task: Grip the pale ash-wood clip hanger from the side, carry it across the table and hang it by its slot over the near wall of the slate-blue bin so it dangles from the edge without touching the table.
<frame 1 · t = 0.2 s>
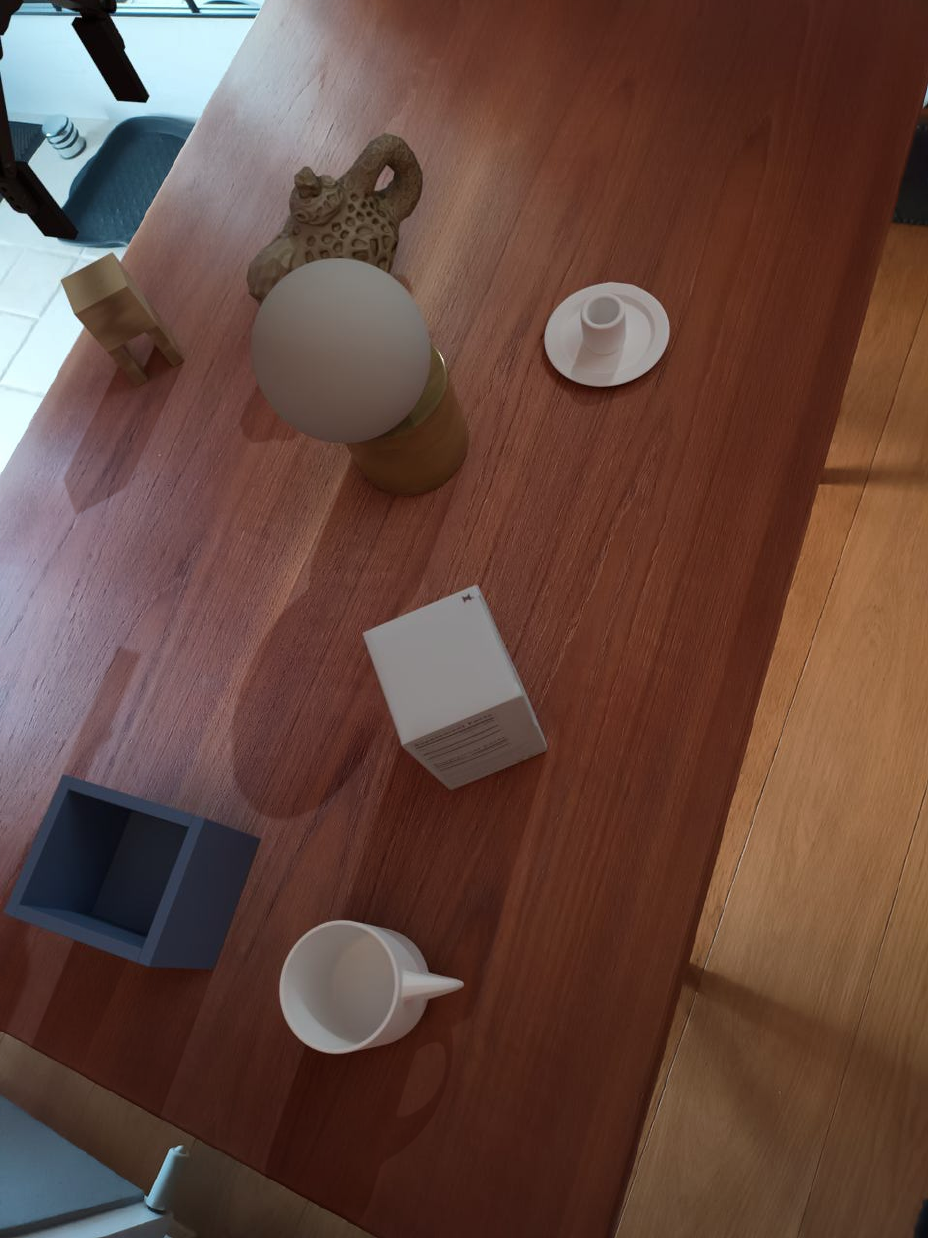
hand: (98, 164, 73), 29 cm above the table, tool pointing down, fingers open, 13 cm apart
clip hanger: (153, 357, 103), on the table
teapot: (356, 282, 102), on the table
supplement box: (480, 723, 82), on the table
lamp: (402, 462, 93), on the table
blue bin: (171, 880, 82), on the table
mug: (401, 985, 75), on the table
candle holder: (606, 339, 93), on the table
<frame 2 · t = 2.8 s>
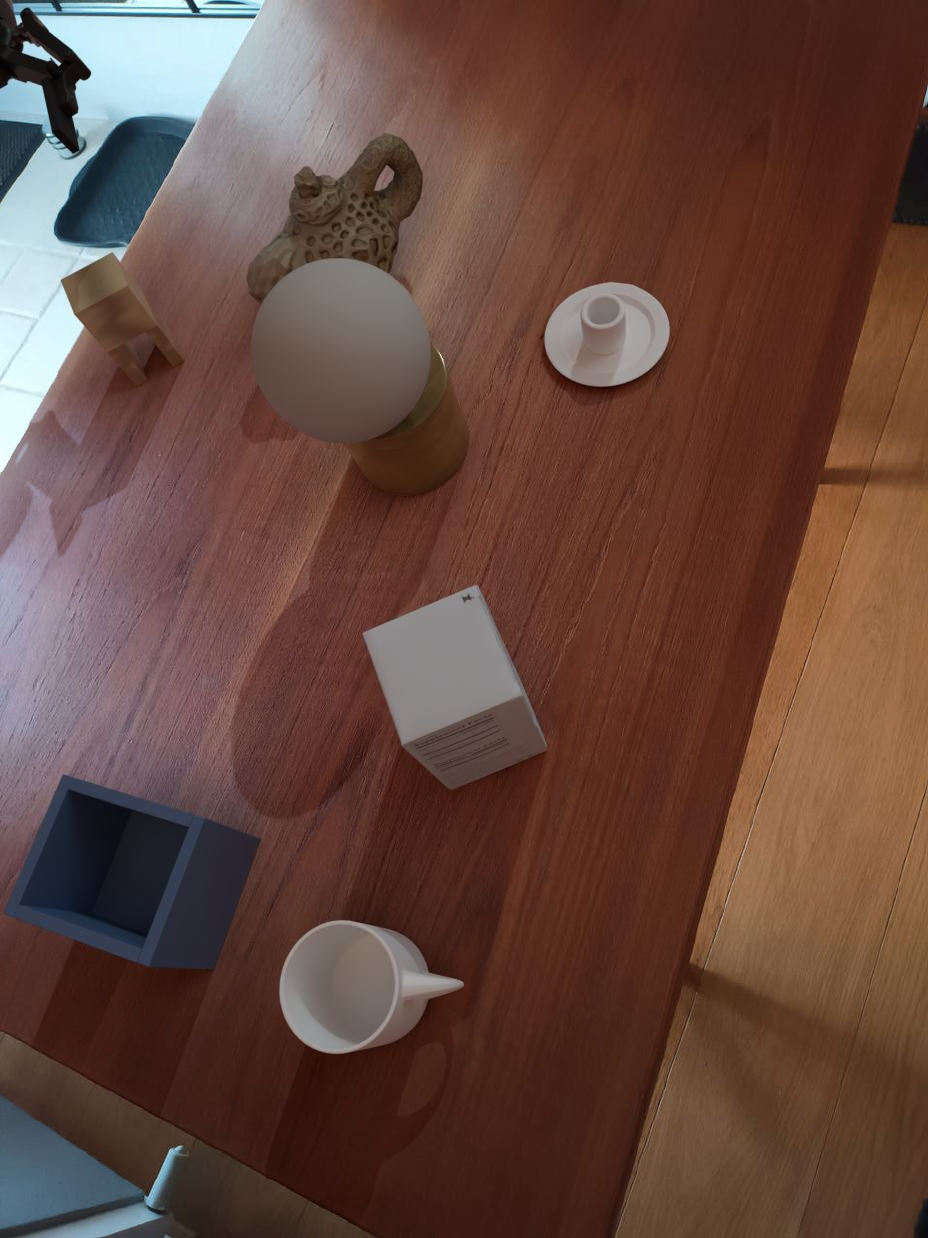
hand: (4, 178, 86), 21 cm above the table, tool horizontal, fingers open, 13 cm apart
nothing on the table moved.
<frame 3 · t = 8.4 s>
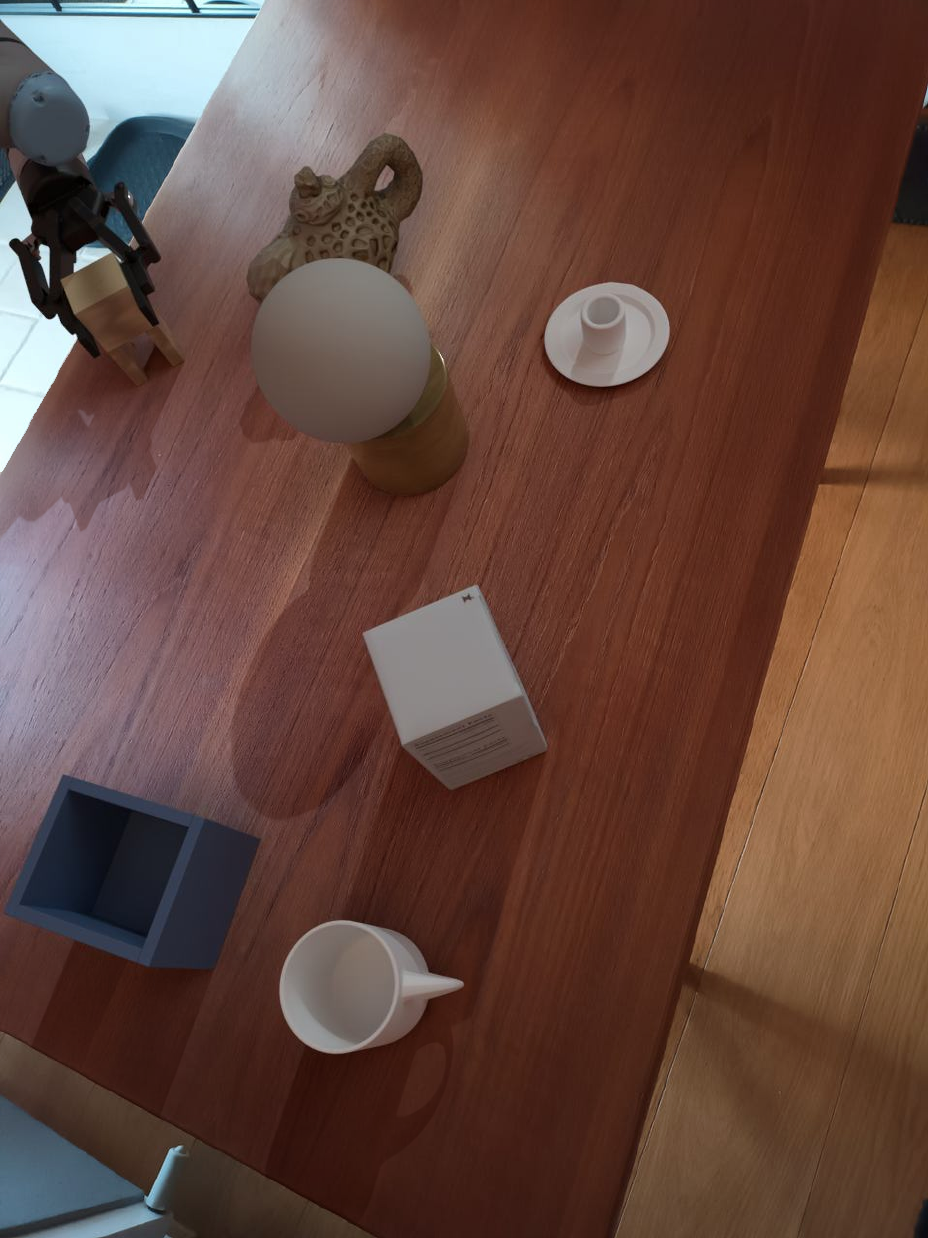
hand: (119, 332, 92), 10 cm above the table, tool horizontal, fingers closed on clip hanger, 6 cm apart
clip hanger: (153, 357, 103), on the table, touching gripper
everything else where it was.
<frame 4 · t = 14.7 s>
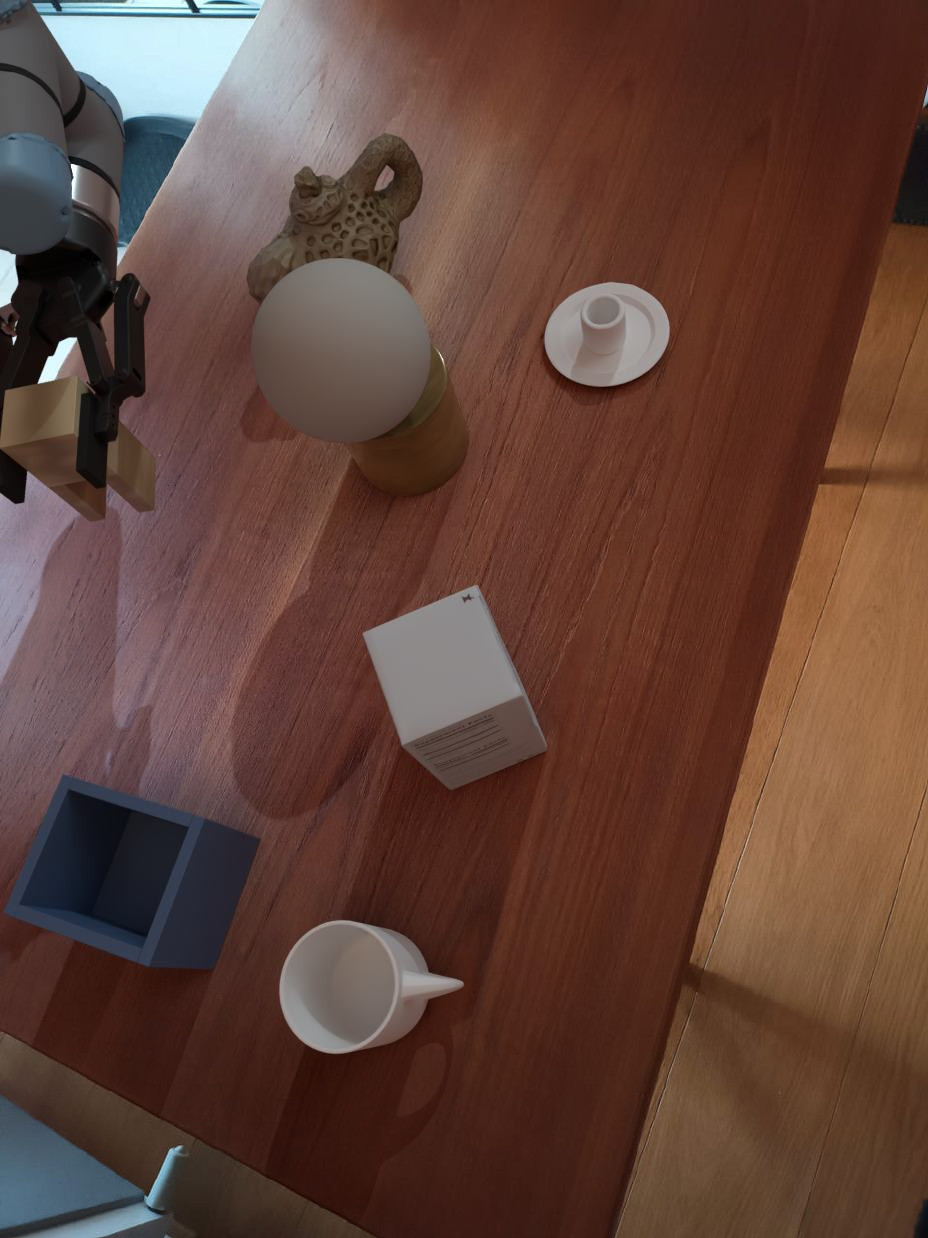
hand: (49, 486, 69), 24 cm above the table, tool horizontal, fingers closed on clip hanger, 6 cm apart
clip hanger: (123, 490, 80), point 14 cm above the table, touching gripper
everything else where it was.
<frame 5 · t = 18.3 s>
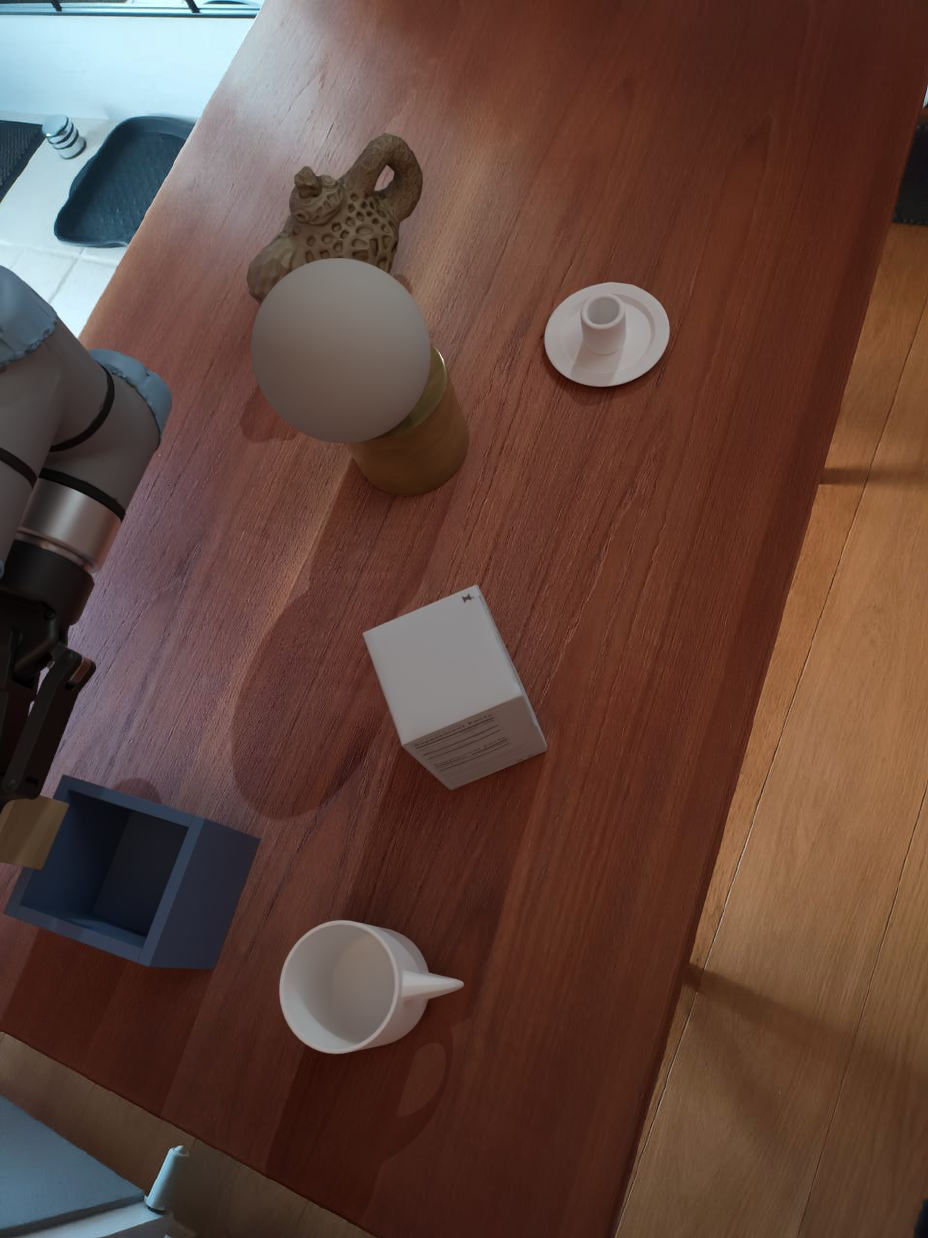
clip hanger: (24, 826, 71), point 13 cm above the table, touching gripper
everything else where it was.
when the fingers open (15 cm above the table, at t = 20.9 s): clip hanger stays where it is, resting on blue bin.
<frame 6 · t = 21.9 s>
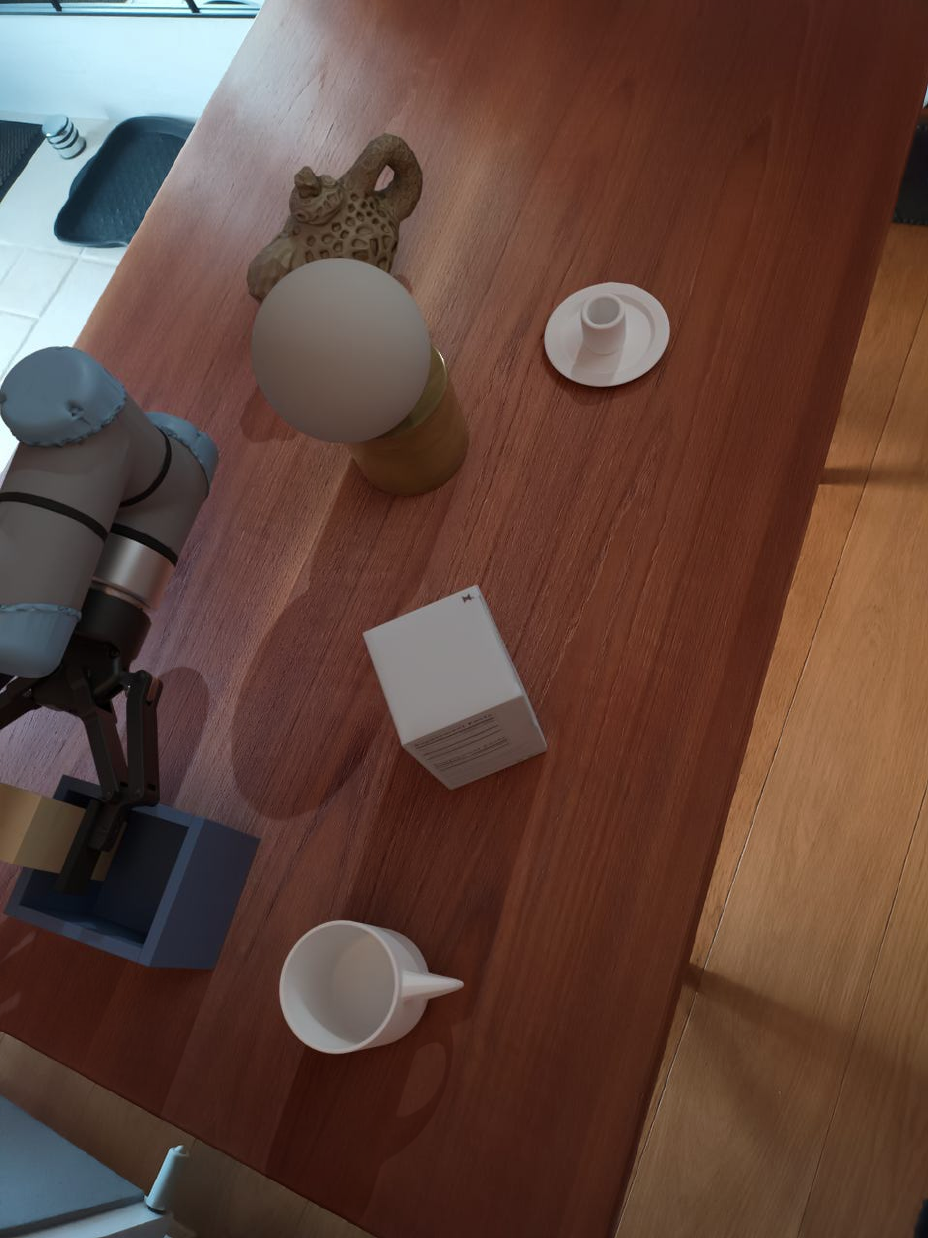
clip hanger: (86, 842, 79), point 5 cm above the table, touching blue bin
everything else where it was.
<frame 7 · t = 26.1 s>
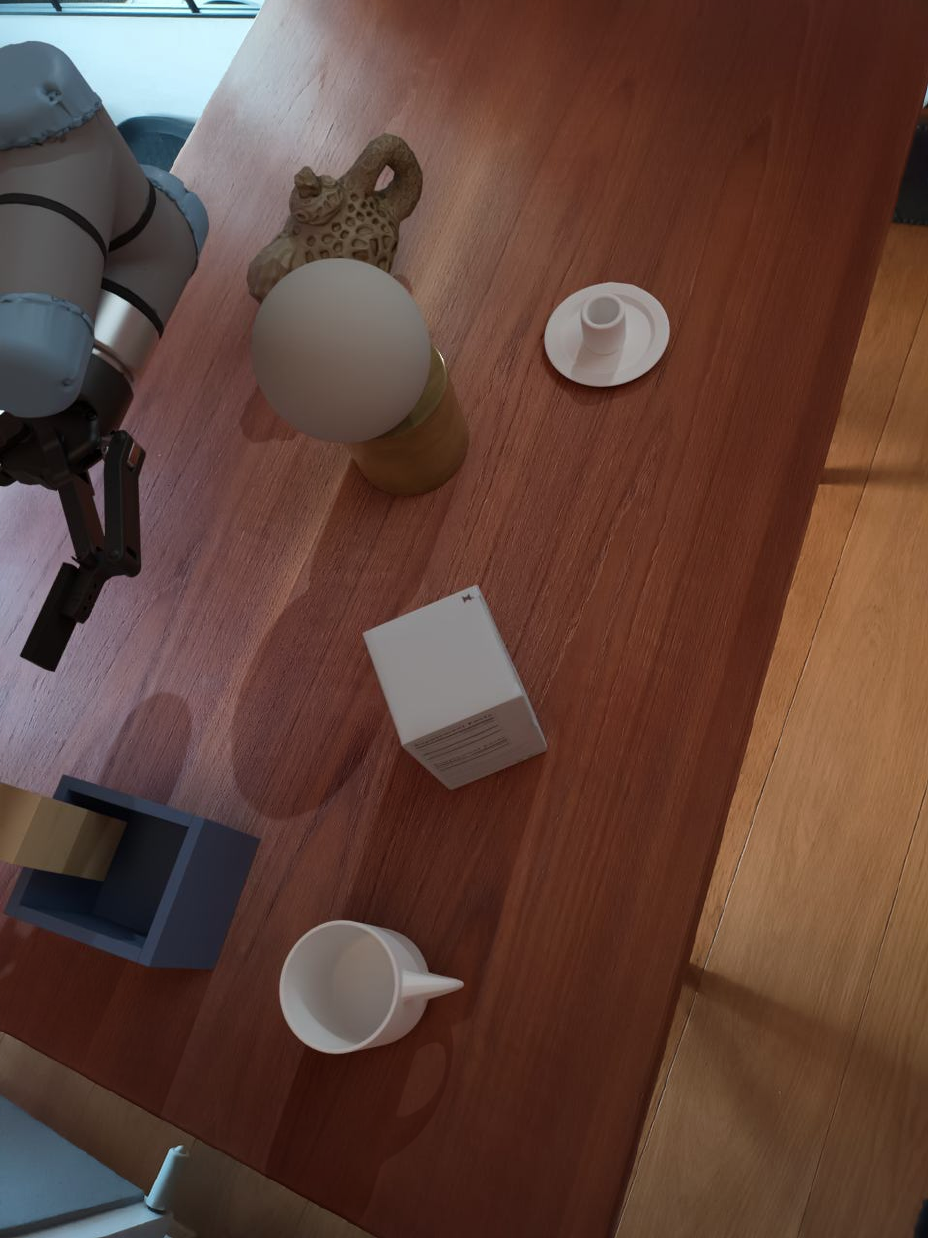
nothing on the table moved.
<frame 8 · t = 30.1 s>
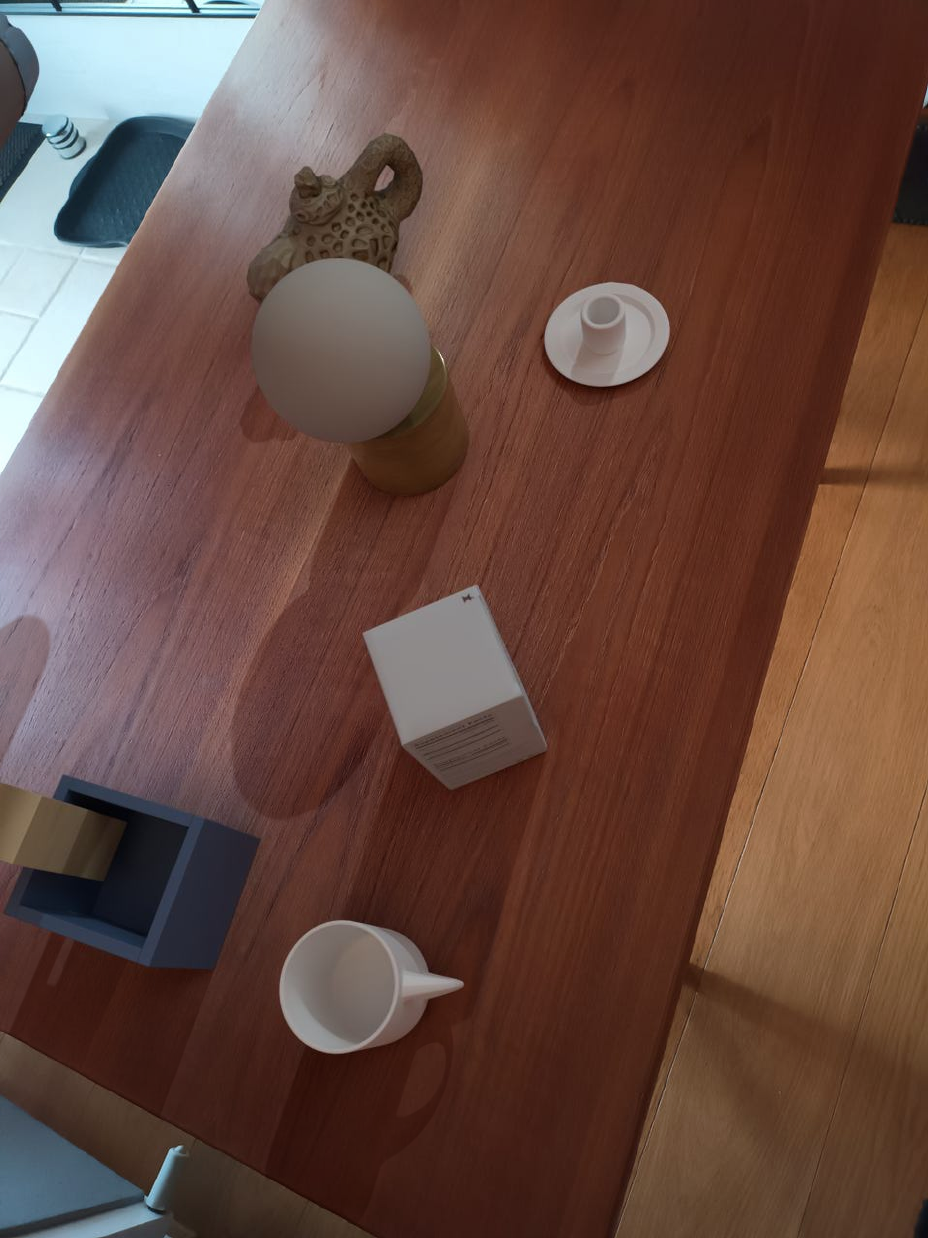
nothing on the table moved.
at the end: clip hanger 0.2 cm from the target spot in the blue bin, point 5.0 cm above the blue bin's base; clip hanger touching blue bin; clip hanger tilted 0° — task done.
